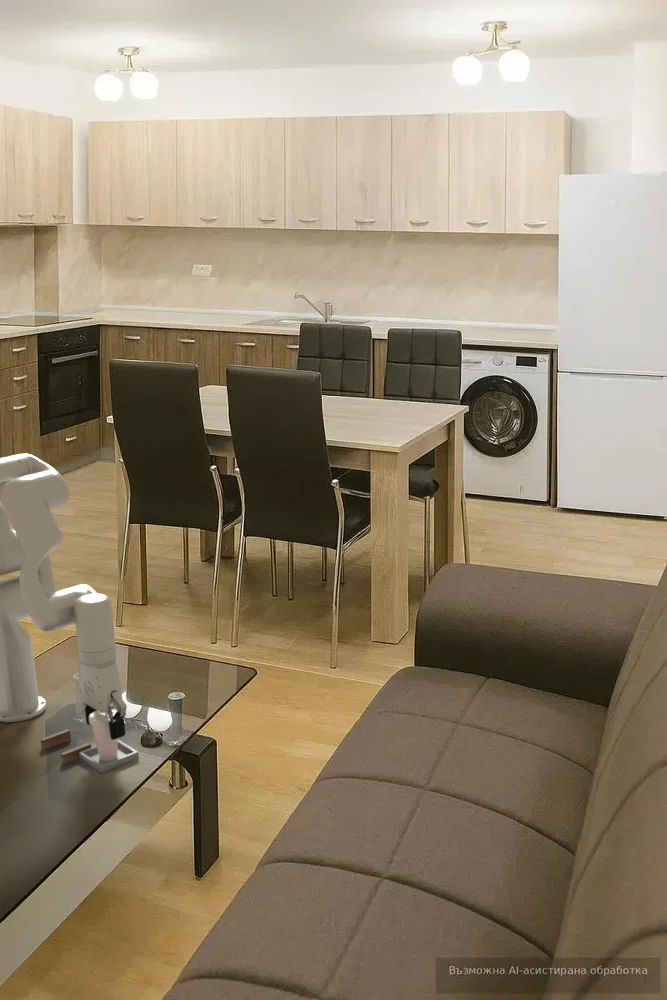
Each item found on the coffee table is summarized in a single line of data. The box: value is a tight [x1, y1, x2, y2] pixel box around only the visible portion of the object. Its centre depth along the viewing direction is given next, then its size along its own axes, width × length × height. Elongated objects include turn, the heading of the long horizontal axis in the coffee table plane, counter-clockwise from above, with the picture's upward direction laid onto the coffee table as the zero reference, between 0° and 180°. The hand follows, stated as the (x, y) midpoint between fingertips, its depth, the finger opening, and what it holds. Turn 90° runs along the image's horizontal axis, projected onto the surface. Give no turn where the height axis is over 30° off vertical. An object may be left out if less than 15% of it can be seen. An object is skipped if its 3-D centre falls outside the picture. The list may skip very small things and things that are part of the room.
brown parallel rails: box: [40, 728, 92, 765], centre depth 236 cm, size 10×6×2 cm, turn 42°
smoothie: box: [89, 709, 119, 761], centre depth 230 cm, size 6×6×14 cm
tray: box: [78, 738, 140, 775], centre depth 232 cm, size 9×9×2 cm
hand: (105, 729), depth 230 cm, fingers open, 9 cm apart
